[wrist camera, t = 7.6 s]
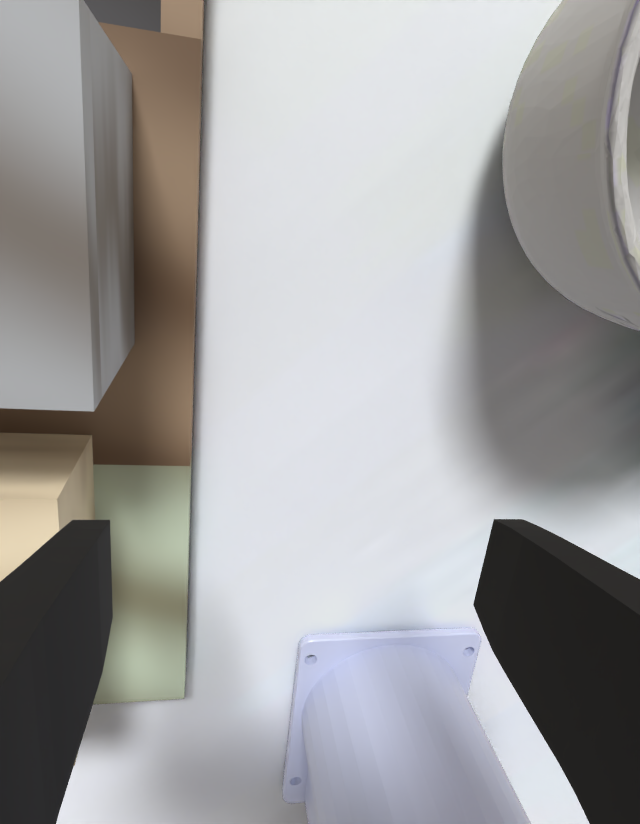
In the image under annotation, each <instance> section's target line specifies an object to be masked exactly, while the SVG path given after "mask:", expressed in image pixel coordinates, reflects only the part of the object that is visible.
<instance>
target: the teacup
mask: <svg viewBox="0 0 640 824" xmlns="http://www.w3.org/2000/svg"><path fill="white" fill-rule="evenodd" d="M502 168H503V185H504V192H505V200H506V204H507V209H508V212H509V216H510V220H511V223H512V226H513V229H514V231H515V234H516V236H517V239H518V241H519V243H520V245H521V246H522V248H523V250H524V252H525V254H526V256H527V257H528V259H529V260H530V262H531V263H532V265H533V266H534V268H535V269H536V270H537V271H538V272H539V273H540V274H541V276H542V277H543V278H544V279H545V280H546V281H547V282H548V283H549V284H550V285H551V286H552V287H553V288H554V289H556V290H557V291H558V292H559V293H560V294H562V295H563V296H564V297H565V298H566V299H568V300H570V301H571V302H573V303H574V304H576V305H578V306H579V307H581V308H583V309H584V310H587V311H589V312H591V313H593V314H595V315H597V316H599V317H601V318H604V319H606V320H609V321H612V322H614V323H617V324H620V325H622V326H625V327H628V328H631V329H634V330H637V331H640V0H563V1H562V2H561V4H560V5H559V6H558V8H557V9H556V10H555V11H554V13H553V14H552V15H551V17H550V18H549V20H548V22H547V23H546V25H545V26H544V28H543V30H542V31H541V33H540V35H539V36H538V38H537V39H536V41H535V43H534V45H533V47H532V49H531V51H530V53H529V55H528V57H527V59H526V61H525V63H524V66H523V68H522V71H521V73H520V76H519V78H518V80H517V84H516V87H515V90H514V93H513V97H512V100H511V103H510V106H509V111H508V116H507V120H506V126H505V132H504V141H503V150H502Z"/></svg>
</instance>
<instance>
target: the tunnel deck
mask: <svg viewBox="0 0 640 824" xmlns="http://www.w3.org/2000/svg"><path fill="white" fill-rule="evenodd" d="M203 26H204V0H0V433H31V434H68V435H92V449H93V474H94V500H95V520H110V536H111V571H112V605H113V619H112V624H111V630H110V635H109V641H108V646H107V652H106V657H105V662H104V667H103V672H102V676H101V679H100V682H99V686H98V689H97V692H96V695H95V699H94V702H93V704H108V703H124V702H139V701H155V700H171V699H184V693H185V679H186V649H187V612H188V576H189V539H190V502H191V466H192V429H193V392H194V356H195V319H196V283H197V246H198V209H199V173H200V136H201V100H202V63H203Z"/></svg>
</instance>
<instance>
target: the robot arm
mask: <svg viewBox="0 0 640 824" xmlns="http://www.w3.org/2000/svg"><path fill="white" fill-rule="evenodd" d="M473 605H474V607H475V610H476V612H477V615H478V617H479V620H480V622H481V625H482V627H483V630H484V632H485V634H486V637H487V639H488V641H489V643H490V646H491V648H492V650H493V652H494V654H495V656H496V658H497V659H498V661H499V663H500V665H501V666H502V668H503V670H504V671H505V673H506V675H507V677H508V678H509V680H510V682H511V683H512V685H513V687H514V689H515V690H516V692H517V694H518V695H519V697H520V699H521V700H522V702H523V704H524V705H525V707H526V709H527V710H528V712H529V714H530V715H531V717H532V719H533V721H534V722H535V724H536V726H537V727H538V729H539V731H540V732H541V734H542V736H543V737H544V739H545V741H546V742H547V744H548V746H549V747H550V749H551V751H552V752H553V754H554V756H555V757H556V759H557V761H558V762H559V764H560V766H561V768H562V770H563V771H564V773H565V775H566V777H567V779H568V781H569V782H570V784H571V786H572V788H573V790H574V792H575V794H576V796H577V798H578V800H579V802H580V804H581V806H582V808H583V810H584V812H585V815H586V817H587V819H588V821H589V823H590V824H640V579H638V578H636V577H634V576H632V575H630V574H628V573H627V572H625V571H623V570H621V569H619V568H617V567H615V566H613V565H611V564H610V563H608V562H606V561H604V560H602V559H600V558H598V557H597V556H595V555H593V554H591V553H589V552H587V551H585V550H584V549H582V548H580V547H578V546H576V545H574V544H572V543H571V542H569V541H567V540H565V539H563V538H561V537H559V536H557V535H555V534H553V533H551V532H549V531H547V530H545V529H543V528H541V527H539V526H537V525H534V524H532V523H530V522H527V521H525V520H522V519H494V521H493V525H492V530H491V534H490V538H489V542H488V546H487V550H486V555H485V559H484V563H483V567H482V571H481V575H480V579H479V584H478V588H477V592H476V596H475V600H474V604H473ZM112 619H113V605H112V571H111V536H110V520H72V521H70V522H69V523H68V524H67V525H66V526H64V527H63V528H62V529H61V530H60V531H59V532H57V533H56V534H55V535H54V536H53V537H52V538H50V539H49V540H48V541H47V542H46V543H45V544H44V545H42V546H41V547H40V548H39V549H38V550H37V551H36V552H35V553H33V554H32V555H31V556H30V557H29V558H28V559H26V560H25V561H24V562H23V563H22V564H21V565H20V566H18V567H17V568H16V569H15V570H14V571H12V572H11V573H10V574H9V575H8V576H6V577H5V578H4V579H3V580H2V581H0V824H56V821H57V817H58V814H59V810H60V807H61V804H62V801H63V798H64V795H65V791H66V788H67V785H68V782H69V779H70V775H71V772H72V769H73V766H74V763H75V759H76V756H77V753H78V750H79V747H80V744H81V740H82V737H83V734H84V731H85V728H86V724H87V721H88V718H89V715H90V712H91V708H92V705H93V702H94V699H95V695H96V692H97V689H98V686H99V682H100V679H101V676H102V672H103V667H104V662H105V657H106V652H107V646H108V641H109V635H110V630H111V624H112ZM480 644H481V636H480V635H479V633H478V631H477V630H476V629H474V628H449V629H426V630H402V631H379V632H356V633H332V634H311V635H307V636H305V637H303V638H302V639H301V640H300V642H299V646H298V655H297V664H296V672H295V681H294V690H293V699H292V708H291V716H290V725H289V734H288V743H287V752H286V760H285V769H284V778H283V787H282V794H283V800H284V801H285V802H287V803H302V802H305V805H306V812H307V819H308V824H531V822H530V820H529V819H528V817H527V815H526V813H525V811H524V809H523V807H522V805H521V803H520V801H519V799H518V797H517V795H516V793H515V791H514V789H513V787H512V785H511V783H510V781H509V779H508V777H507V775H506V773H505V771H504V769H503V767H502V765H501V763H500V761H499V759H498V757H497V755H496V753H495V751H494V749H493V747H492V745H491V743H490V741H489V739H488V737H487V735H486V733H485V731H484V729H483V728H482V726H481V724H480V722H479V720H478V718H477V716H476V714H475V712H474V710H473V708H472V706H471V704H470V702H469V700H468V698H467V695H468V691H469V687H470V683H471V679H472V675H473V671H474V667H475V663H476V660H477V656H478V652H479V648H480ZM468 647H469V648H468ZM466 648H467V649H466ZM464 649H465V650H464ZM309 655H314V656H312V657H310V658H307V656H309Z"/></svg>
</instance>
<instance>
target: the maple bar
mask: <svg viewBox="0 0 640 824" xmlns="http://www.w3.org/2000/svg"><path fill="white" fill-rule="evenodd" d="M72 520H95V500H94V474H93V449H92V435H68V434H31V433H0V581H2V580H3V579H4V578H5V577H6V576H8V575H9V574H10V573H11V572H12V571H14V570H15V569H16V568H17V567H18V566H20V565H21V564H22V563H23V562H24V561H25V560H26V559H28V558H29V557H30V556H31V555H32V554H33V553H35V552H36V551H37V550H38V549H39V548H40V547H41V546H42V545H44V544H45V543H46V542H47V541H48V540H49V539H50V538H52V537H53V536H54V535H55V534H56V533H57V532H59V531H60V530H61V529H62V528H63V527H64V526H66V525H67V524H68V523H69V522H70V521H72ZM77 754H78V753H77ZM76 758H77V756H76ZM75 762H76V759H75ZM74 765H75V763H74Z"/></svg>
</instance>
